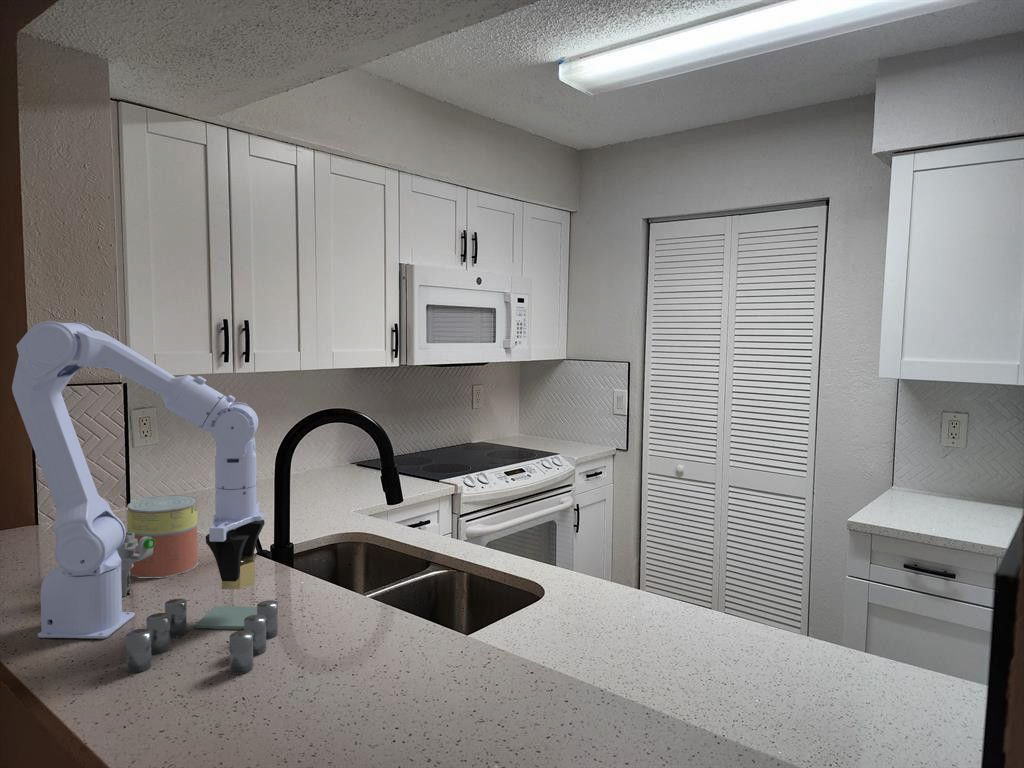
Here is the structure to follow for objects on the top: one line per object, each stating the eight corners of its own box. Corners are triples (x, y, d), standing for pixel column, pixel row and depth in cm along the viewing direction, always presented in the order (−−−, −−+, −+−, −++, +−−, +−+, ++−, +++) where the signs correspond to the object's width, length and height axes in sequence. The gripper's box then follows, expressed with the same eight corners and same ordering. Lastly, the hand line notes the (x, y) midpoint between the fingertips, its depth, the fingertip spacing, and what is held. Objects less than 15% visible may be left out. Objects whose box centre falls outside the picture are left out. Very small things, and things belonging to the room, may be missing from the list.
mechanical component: (145, 601, 107) (144, 540, 107) (90, 595, 109) (89, 534, 109) (158, 594, 110) (158, 534, 110) (104, 588, 112) (103, 529, 112)
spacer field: (122, 672, 85) (121, 638, 85) (170, 628, 98) (170, 598, 98) (248, 674, 86) (248, 640, 86) (280, 630, 99) (280, 600, 98)
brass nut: (212, 589, 100) (212, 565, 100) (225, 578, 104) (225, 555, 104) (249, 589, 100) (249, 565, 100) (260, 578, 104) (260, 556, 104)
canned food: (210, 565, 125) (210, 501, 124) (150, 583, 115) (149, 514, 114) (175, 553, 131) (175, 492, 130) (115, 569, 121) (114, 503, 120)
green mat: (194, 628, 98) (194, 625, 98) (214, 609, 105) (214, 606, 105) (257, 629, 99) (257, 626, 99) (272, 610, 106) (272, 607, 106)
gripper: (245, 497, 94) (245, 592, 95) (278, 475, 108) (278, 558, 109) (193, 496, 94) (194, 592, 95) (234, 474, 108) (234, 557, 109)
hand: (236, 574), depth 102 cm, fingers closed on brass nut, 5 cm apart
